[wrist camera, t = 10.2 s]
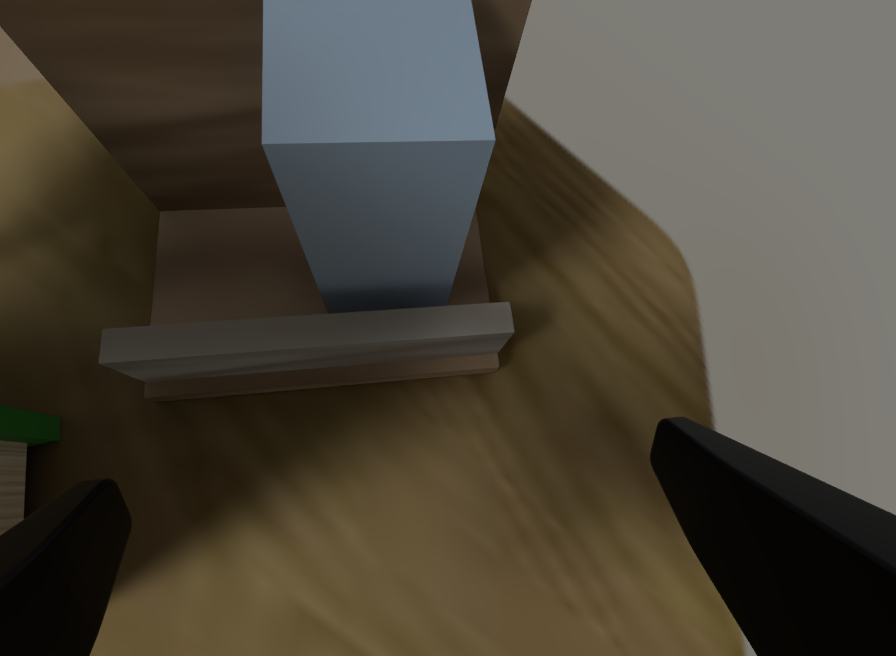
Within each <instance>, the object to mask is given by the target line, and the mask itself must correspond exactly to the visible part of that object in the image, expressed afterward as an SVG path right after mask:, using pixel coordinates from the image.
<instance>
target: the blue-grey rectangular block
mask: <svg viewBox="0 0 896 656" xmlns="http://www.w3.org/2000/svg"><path fill="white" fill-rule="evenodd" d="M494 144H495V134H494V128H493V123H492V117H491V111H490V105H489V100H488V94H487V88H486V82H485V77H484V71H483V65H482V59H481V54H480V48H479V42H478V36H477V31H476V25H475V19H474V14H473V8H472V2H471V0H263V70H262V146H263V149H264V151H265V154H266V156H267V159H268V161H269V164H270V166H271V169H272V172H273V174H274V177H275V179H276V182H277V184H278V187H279V189H280V192H281V195H282V197H283V200H284V202H285V205H286V207H287V210H288V212H289V215H290V218H291V220H292V223H293V225H294V228H295V230H296V233H297V235H298V238H299V241H300V243H301V246H302V248H303V251H304V253H305V256H306V258H307V261H308V264H309V266H310V269H311V271H312V274H313V276H314V279H315V281H316V284H317V287H318V289H319V292H320V294H321V297H322V299H323V302H324V304H325V307H326V310H327V312H328V314H331V313H347V312H362V311H377V310H392V309H407V308H422V307H437V306H446V305H447V302H448V299H449V295H450V292H451V288H452V285H453V282H454V278H455V275H456V272H457V268H458V265H459V261H460V258H461V255H462V251H463V248H464V245H465V241H466V238H467V235H468V231H469V228H470V224H471V221H472V218H473V214H474V211H475V208H476V204H477V201H478V198H479V194H480V191H481V187H482V184H483V181H484V177H485V174H486V171H487V167H488V164H489V160H490V157H491V154H492V150H493V147H494Z"/></svg>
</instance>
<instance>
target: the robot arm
mask: <svg viewBox="0 0 896 656" xmlns="http://www.w3.org/2000/svg"><path fill="white" fill-rule="evenodd" d="M650 461H651V465H652V468H653V470H654V472H655V474H656V476H657V478H658V481H659V483H660V485H661V487H662V489H663V491H664V493H665V495H666V497H667V499H668V501H669V503H670V505H671V507H672V509H673V511H674V513H675V516H676V518H677V520H678V522H679V524H680V526H681V528H682V530H683V532H684V534H685V536H686V538H687V540H688V542H689V544H690V545H691V547H692V549H693V551H694V552H695V554H696V556H697V558H698V559H699V561H700V563H701V564H702V566H703V568H704V569H705V571H706V573H707V574H708V576H709V577H710V579H711V581H712V582H713V584H714V586H715V587H716V589H717V591H718V592H719V594H720V595H721V597H722V599H723V600H724V602H725V604H726V605H727V607H728V609H729V610H730V612H731V614H732V615H733V617H734V618H735V620H736V622H737V623H738V625H739V627H740V628H741V630H742V632H743V633H744V635H745V636H746V638H747V640H748V641H749V643H750V645H751V646H752V648H753V649H754V651H755V653H756V654H757V656H896V515H894V514H892V513H890V512H887V511H885V510H883V509H881V508H879V507H877V506H875V505H872V504H870V503H868V502H866V501H864V500H862V499H859V498H857V497H855V496H853V495H851V494H849V493H846V492H844V491H842V490H840V489H838V488H836V487H834V486H831V485H829V484H827V483H825V482H823V481H820V480H819V479H816V478H814V477H812V476H810V475H808V474H806V473H803V472H801V471H799V470H797V469H795V468H793V467H791V466H788V465H786V464H784V463H782V462H780V461H778V460H776V459H773V458H771V457H769V456H767V455H765V454H763V453H761V452H758V451H756V450H754V449H752V448H749V447H748V446H745V445H743V444H741V443H739V442H737V441H735V440H733V439H731V438H728V437H726V436H724V435H722V434H720V433H718V432H715V431H713V430H711V429H709V428H707V427H705V426H703V425H700V424H698V423H696V422H694V421H692V420H690V419H688V418H685V417H674V418H665V419H662V420H661V421H660V422H659V423H658V425H657V429H656V433H655V437H654V441H653V445H652V449H651V453H650ZM131 526H132V521H131V516H130V513H129V510H128V508H127V506H126V503H125V501H124V499H123V496H122V494H121V492H120V489H119V487H118V485H117V483H116V482H115V481H114V480H112V479H107V478H106V479H97V480H87V481H82V482H80V483H78V484H76V485H74V486H73V487H71V488H70V489H68V490H67V491H65V492H64V493H62V494H61V495H59V496H58V497H56V498H55V499H53V500H52V501H50V502H49V503H47V504H46V505H44V506H43V507H41V508H40V509H39V510H37V511H36V512H34V513H33V514H31V515H30V516H28V517H27V518H25V519H24V520H22V521H21V522H19V523H18V524H16V525H15V526H13V527H12V528H10V529H9V530H7V531H6V532H4V533H3V534H1V535H0V656H89V655H90V653H91V651H92V648H93V646H94V643H95V641H96V638H97V636H98V633H99V630H100V627H101V624H102V621H103V618H104V615H105V612H106V609H107V606H108V602H109V599H110V596H111V593H112V590H113V586H114V583H115V580H116V577H117V574H118V570H119V567H120V564H121V561H122V558H123V555H124V551H125V548H126V545H127V542H128V539H129V535H130V532H131Z"/></svg>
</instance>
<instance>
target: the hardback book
mask: <svg viewBox="0 0 896 656" xmlns="http://www.w3.org/2000/svg"><path fill="white" fill-rule="evenodd" d="M55 441H60V417H58V416H53V415H48V414H43V413H37V412H32V411H27V410H22V409H17V408H12V407H7V406H1V405H0V535H1V534H3V533H4V532H6V531H7V530H9V529H10V528H12V527H13V526H15V525H16V524H18V523H19V522H21V521H22V520H23V519H24V498H25V477H26V456H27V447H29V446H34V445H39V444H45V443H50V442H55Z"/></svg>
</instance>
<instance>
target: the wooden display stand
mask: <svg viewBox="0 0 896 656" xmlns="http://www.w3.org/2000/svg"><path fill="white" fill-rule="evenodd" d="M531 1H532V0H471V2H472V8H473V14H474V19H475V25H476V31H477V36H478V42H479V48H480V54H481V59H482V65H483V71H484V77H485V82H486V88H487V94H488V100H489V105H490V111H491V117H492V123H493V128H494V131H495V127H496V124H497V120H498V117H499V113H500V110H501V106H502V103H503V99H504V96H505V92H506V89H507V85H508V82H509V78H510V75H511V71H512V68H513V64H514V61H515V57H516V54H517V50H518V47H519V43H520V40H521V36H522V33H523V29H524V26H525V22H526V19H527V15H528V12H529V8H530V5H531ZM0 26H1V28H2V29H3V30H4V31H5V32H6V33H7V35H8V36H9V37H10V38H11V39H12V40H13V41H14V43H15V44H16V45H17V46H18V47H19V48H20V49H21V51H22V52H23V53H24V54H25V55H26V56H27V58H28V59H29V60H30V61H31V62H32V63H33V64H34V66H35V67H36V68H37V69H38V70H39V71H40V73H41V74H42V75H43V76H44V77H45V79H46V80H47V81H48V82H49V83H50V84H51V85H52V87H53V88H54V89H55V90H56V91H57V92H58V94H59V95H60V96H61V97H62V98H63V99H64V101H65V102H66V103H67V104H68V105H69V106H70V107H71V109H72V110H73V111H74V112H75V113H76V114H77V116H78V117H79V118H80V119H81V120H82V121H83V122H84V124H85V125H86V126H87V127H88V128H89V129H90V131H91V132H92V133H93V134H94V135H95V136H96V138H97V139H98V140H99V141H100V142H101V143H102V144H103V146H104V147H105V148H106V149H107V150H108V151H109V153H110V154H111V155H112V156H113V157H114V158H115V160H116V161H117V162H118V163H119V164H120V165H121V166H122V168H123V169H124V170H125V171H126V172H127V173H128V175H129V176H130V177H131V178H132V179H133V180H134V182H135V183H136V184H137V185H138V186H139V187H140V188H141V190H142V191H143V192H144V193H145V194H146V195H147V197H148V198H149V199H150V200H151V201H152V202H153V204H154V205H155V206H156V207H157V208H158V209H159V210H160V218H159V230H158V241H157V252H156V264H155V275H154V287H153V298H152V309H151V321H150V326H135V327H120V328H105V329H102V337H101V345H100V353H99V361H98V364H100V365H103V366H105V367H108V368H110V369H113V370H115V371H118V372H120V373H123V374H125V375H128V376H130V377H133V378H135V379H138V380H140V381H143V382H145V389H144V398H146V399H149V400H152V401H155V402H163V401H174V400H185V399H197V398H208V397H219V396H231V395H242V394H254V393H265V392H276V391H288V390H299V389H311V388H322V387H333V386H345V385H356V384H367V383H379V382H390V381H402V380H413V379H424V378H436V377H447V376H459V375H470V374H481V373H493V372H495V371H496V370H497V369H498V368H499V360H498V352H499V351H500V350H501V348H502V347H503V346H504V345H505V344H506V342H507V341H508V340H509V339H510V337H511V336H512V335H513V334H514V332H515V331H514V325H513V318H512V312H511V306H510V302H498V303H490V300H489V293H488V287H487V280H486V273H485V267H484V260H483V253H482V247H481V240H480V233H479V227H478V220H477V213H476V208H475V211H474V214H473V218H472V221H471V224H470V228H469V231H468V235H467V238H466V241H465V245H464V248H463V251H462V255H461V258H460V261H459V265H458V268H457V272H456V275H455V278H454V282H453V285H452V288H451V292H450V295H449V299H448V302H447V305H446V306H437V307H422V308H407V309H392V310H377V311H362V312H347V313H331V314H328V312H327V310H326V307H325V304H324V302H323V299H322V297H321V294H320V292H319V289H318V287H317V284H316V281H315V279H314V276H313V274H312V271H311V269H310V266H309V264H308V261H307V258H306V256H305V253H304V251H303V248H302V246H301V243H300V241H299V238H298V235H297V233H296V230H295V228H294V225H293V223H292V220H291V218H290V215H289V212H288V210H287V207H286V205H285V202H284V200H283V197H282V195H281V192H280V189H279V187H278V184H277V182H276V179H275V177H274V174H273V172H272V169H271V166H270V164H269V161H268V159H267V156H266V154H265V151H264V149H263V146H262V70H263V0H0Z"/></svg>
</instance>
